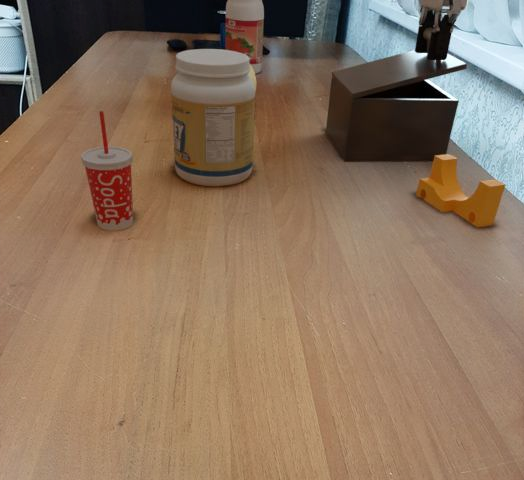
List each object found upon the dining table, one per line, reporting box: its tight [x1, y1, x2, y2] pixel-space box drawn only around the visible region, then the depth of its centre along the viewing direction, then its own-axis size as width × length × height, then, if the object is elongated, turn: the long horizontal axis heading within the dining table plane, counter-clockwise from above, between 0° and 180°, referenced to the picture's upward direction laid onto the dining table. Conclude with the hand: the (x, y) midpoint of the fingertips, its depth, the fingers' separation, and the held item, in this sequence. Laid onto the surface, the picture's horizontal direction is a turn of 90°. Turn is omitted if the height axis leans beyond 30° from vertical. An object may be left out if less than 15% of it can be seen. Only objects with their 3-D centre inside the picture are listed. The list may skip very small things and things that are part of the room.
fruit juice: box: [225, 0, 265, 75], centre depth 139 cm, size 9×9×28 cm
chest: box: [325, 76, 460, 162], centre depth 101 cm, size 18×15×10 cm
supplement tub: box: [170, 48, 256, 187], centre depth 85 cm, size 12×12×17 cm
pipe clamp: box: [415, 153, 506, 228], centre depth 79 cm, size 12×4×6 cm, turn 22°
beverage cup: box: [80, 110, 134, 232], centre depth 70 cm, size 6×6×14 cm
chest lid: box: [331, 28, 468, 99], centre depth 95 cm, size 18×15×5 cm
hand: (430, 54), depth 95 cm, fingers closed on chest lid, 5 cm apart
